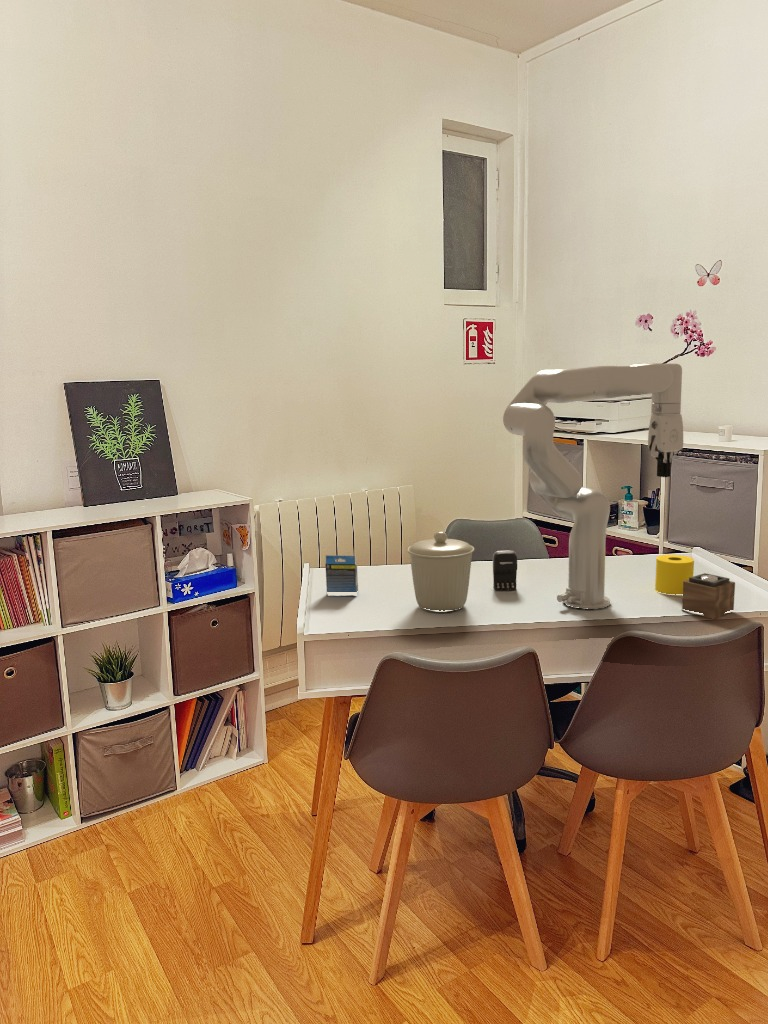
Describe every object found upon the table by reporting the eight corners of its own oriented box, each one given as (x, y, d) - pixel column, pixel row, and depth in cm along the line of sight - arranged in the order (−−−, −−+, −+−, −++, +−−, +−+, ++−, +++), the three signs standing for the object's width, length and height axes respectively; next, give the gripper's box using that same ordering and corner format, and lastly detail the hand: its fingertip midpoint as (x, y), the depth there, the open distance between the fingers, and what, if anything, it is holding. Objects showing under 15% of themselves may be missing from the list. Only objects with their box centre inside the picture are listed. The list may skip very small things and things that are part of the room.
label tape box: (358, 593, 233) (357, 552, 231) (356, 597, 229) (355, 555, 227) (329, 592, 234) (327, 552, 232) (326, 596, 230) (324, 555, 228)
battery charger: (494, 592, 231) (494, 553, 229) (492, 588, 234) (492, 550, 232) (518, 591, 231) (518, 552, 228) (516, 587, 234) (516, 549, 232)
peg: (710, 610, 204) (711, 579, 203) (696, 606, 208) (697, 576, 206) (719, 607, 207) (720, 577, 205) (705, 603, 210) (706, 574, 209)
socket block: (713, 619, 201) (715, 584, 200) (682, 611, 208) (683, 577, 207) (733, 612, 206) (735, 578, 205) (702, 604, 214) (703, 571, 212)
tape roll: (696, 596, 221) (697, 563, 219) (658, 595, 223) (659, 562, 221) (688, 586, 231) (689, 554, 229) (652, 585, 232) (653, 554, 231)
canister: (483, 601, 221) (483, 527, 218) (460, 620, 205) (460, 541, 202) (424, 595, 229) (422, 523, 226) (397, 613, 213) (395, 536, 210)
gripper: (660, 411, 209) (658, 480, 213) (694, 408, 218) (691, 475, 221) (636, 410, 216) (634, 478, 219) (670, 407, 224) (668, 472, 227)
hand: (663, 476), depth 220 cm, fingers closed
